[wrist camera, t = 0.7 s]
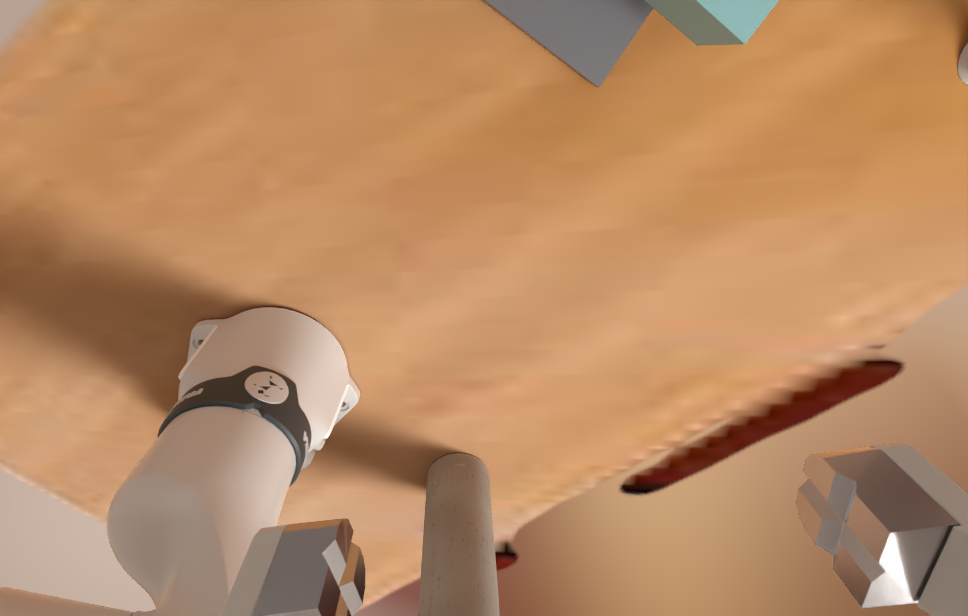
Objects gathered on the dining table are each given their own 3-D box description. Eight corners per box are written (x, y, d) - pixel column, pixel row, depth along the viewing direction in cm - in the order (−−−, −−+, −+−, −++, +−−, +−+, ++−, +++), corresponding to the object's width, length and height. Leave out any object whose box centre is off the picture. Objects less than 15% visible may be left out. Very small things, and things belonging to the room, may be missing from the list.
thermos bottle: (484, 498, 66) (501, 767, 41) (425, 495, 65) (406, 768, 40) (492, 454, 62) (517, 720, 38) (429, 450, 62) (412, 719, 37)
